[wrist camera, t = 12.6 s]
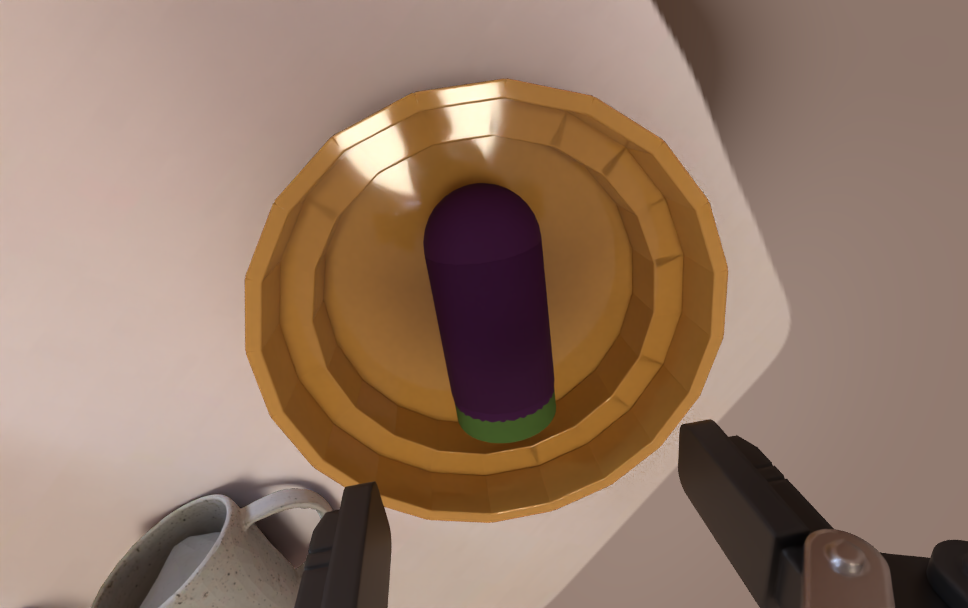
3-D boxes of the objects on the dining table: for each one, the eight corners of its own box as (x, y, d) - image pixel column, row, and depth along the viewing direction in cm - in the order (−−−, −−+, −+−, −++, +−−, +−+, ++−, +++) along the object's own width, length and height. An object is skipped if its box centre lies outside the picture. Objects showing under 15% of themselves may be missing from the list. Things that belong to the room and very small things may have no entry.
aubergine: (411, 184, 22) (413, 207, 17) (520, 166, 22) (550, 184, 18) (454, 405, 27) (465, 468, 22) (543, 386, 27) (571, 445, 23)
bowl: (229, 121, 21) (158, 130, 15) (664, 55, 22) (745, 42, 16) (342, 467, 29) (322, 555, 23) (660, 409, 29) (714, 480, 24)
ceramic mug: (227, 604, 32) (173, 748, 25) (136, 526, 29) (44, 666, 22) (369, 536, 31) (355, 664, 24) (292, 447, 28) (250, 565, 21)
